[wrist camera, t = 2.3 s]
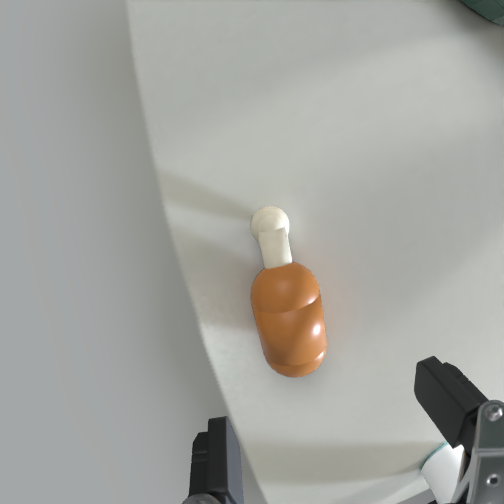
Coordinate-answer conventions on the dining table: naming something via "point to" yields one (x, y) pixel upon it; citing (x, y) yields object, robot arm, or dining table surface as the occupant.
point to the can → (443, 471)
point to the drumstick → (285, 301)
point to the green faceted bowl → (488, 9)
